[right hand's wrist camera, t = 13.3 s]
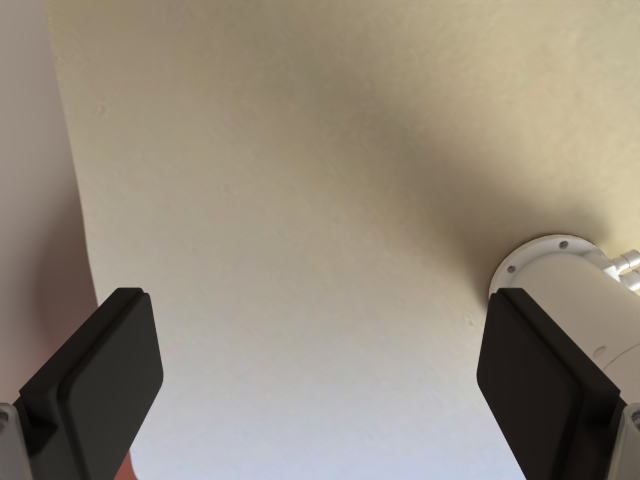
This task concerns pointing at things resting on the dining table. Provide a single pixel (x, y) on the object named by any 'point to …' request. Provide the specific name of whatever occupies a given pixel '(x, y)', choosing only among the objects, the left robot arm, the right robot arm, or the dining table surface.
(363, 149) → the dining table surface
